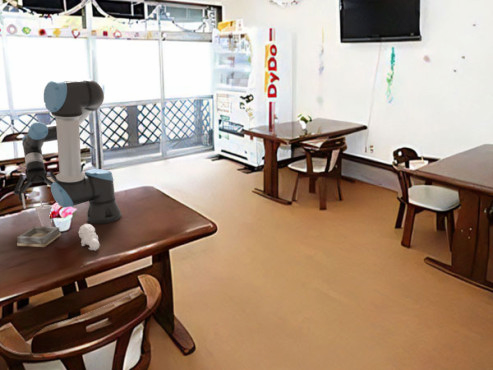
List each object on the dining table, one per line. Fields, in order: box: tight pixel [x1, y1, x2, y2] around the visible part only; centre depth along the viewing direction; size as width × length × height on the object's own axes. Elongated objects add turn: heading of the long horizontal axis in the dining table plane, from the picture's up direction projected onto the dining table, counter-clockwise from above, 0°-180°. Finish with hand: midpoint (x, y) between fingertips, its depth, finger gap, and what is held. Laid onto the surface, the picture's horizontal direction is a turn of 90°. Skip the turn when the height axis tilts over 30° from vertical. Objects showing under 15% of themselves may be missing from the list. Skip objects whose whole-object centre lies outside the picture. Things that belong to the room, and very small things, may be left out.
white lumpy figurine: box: [78, 223, 101, 251], centre depth 167 cm, size 6×8×12 cm
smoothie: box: [35, 197, 52, 227], centre depth 186 cm, size 6×6×14 cm
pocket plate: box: [16, 225, 62, 248], centre depth 175 cm, size 12×12×4 cm
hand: (41, 204), depth 188 cm, fingers open, 13 cm apart
